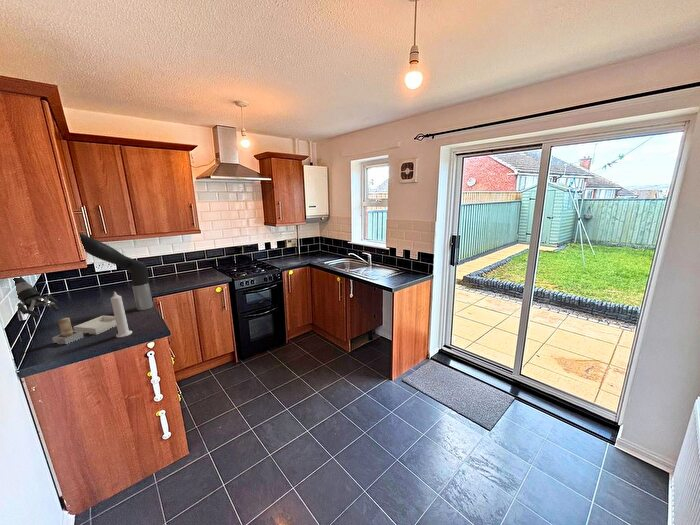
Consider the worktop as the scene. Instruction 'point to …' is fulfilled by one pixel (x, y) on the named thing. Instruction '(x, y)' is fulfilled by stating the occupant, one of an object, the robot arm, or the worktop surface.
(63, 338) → the collar
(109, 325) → the tray
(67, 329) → the peg
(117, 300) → the candle
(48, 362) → the worktop surface
